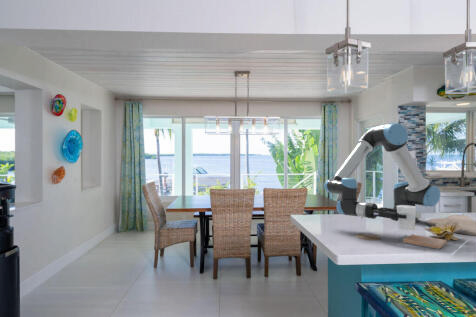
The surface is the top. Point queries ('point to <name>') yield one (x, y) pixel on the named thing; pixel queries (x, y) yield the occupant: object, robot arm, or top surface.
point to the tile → (425, 241)
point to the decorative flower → (445, 230)
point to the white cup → (406, 223)
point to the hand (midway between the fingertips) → (417, 216)
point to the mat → (400, 240)
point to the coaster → (368, 237)
